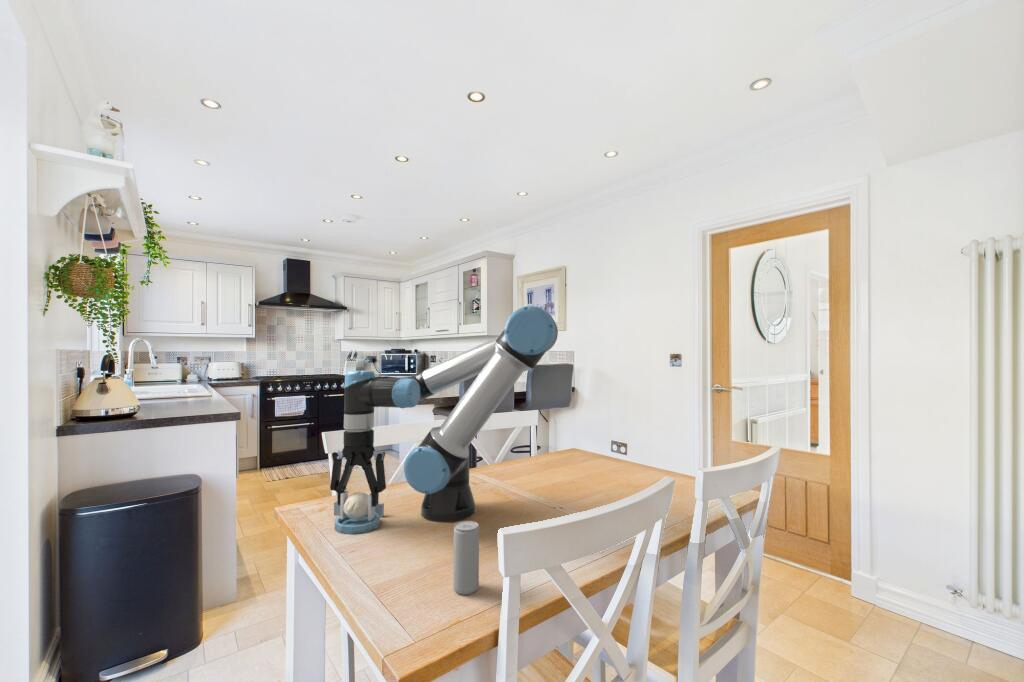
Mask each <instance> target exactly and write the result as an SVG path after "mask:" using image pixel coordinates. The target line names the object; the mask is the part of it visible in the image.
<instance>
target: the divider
mask: <svg viewBox="0 0 1024 682" xmlns="http://www.w3.org/2000/svg"><path fill="white" fill-rule="evenodd" d="M333 504H334V505H333V515H334V516H340V505H338V503H337V501H334V502H333ZM375 513H378V514H379V516H380V518H383V517H385V515H384V514H385V503H384V502H378V505H377V506H376V507H375Z"/></svg>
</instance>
